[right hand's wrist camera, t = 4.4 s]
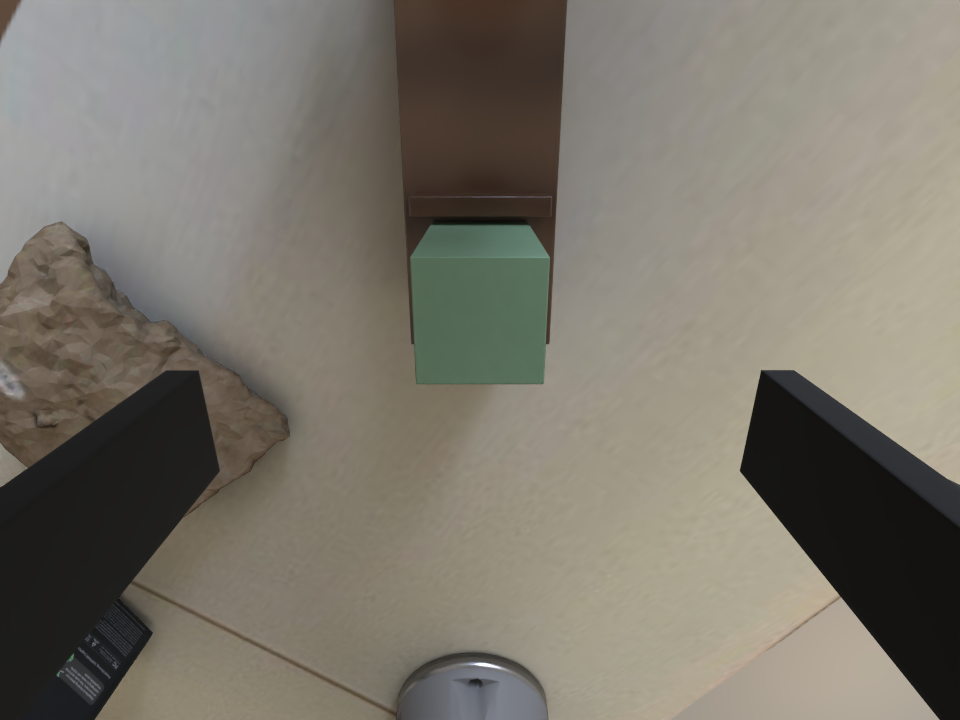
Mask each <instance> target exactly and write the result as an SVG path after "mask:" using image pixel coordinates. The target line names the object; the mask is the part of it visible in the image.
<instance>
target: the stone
mask: <svg viewBox="0 0 960 720" xmlns="http://www.w3.org/2000/svg"><path fill="white" fill-rule="evenodd" d="M166 370H199V374H200V379H201V383H202V388H203V393H204V397H205V402H206V407H207V412H208V416H209V421H210V426H211V430H212V435H213V440H214V445H215V449H216V454H217V459H218V463H219V468H220V472H219V473H218V474H217V475H216V477H215V478H214V479H213V480H212V482H211V483H210V484H209V485H208V487H207V488H206V489H205V490H204V492H203V493H202V494H201V495H200V497H199V498H198V499H197V500H196V502H195V503H194V504H193V505H192V507H191V508H190V509H189V510H188V512H187V513H186V514H185V515H184V517H185V516H186V515H188V514H189V513H191V512H192V511H194V510H195V509H196V508H198V507H199V506H200V505H201V504H202V503H203V502H205V501H206V500H207V499H209V498H211V497H212V496H214V495H215V494H216V493H218V492H219V490H220V489H221V488H223V487H225V486H226V485H228V484H230V483H231V482H233V481H235V480H236V479H238V478H239V477H241V476H243V475H244V474H246V473H248V472H250V471H251V469H252V467H253V465H254V463H255V462H256V461H257V460H258V459H260V458H261V457H262V456H263V455H264V454H265V453H266V451H267V450H269V449H270V448H271V447H272V446H273V445H274V444H275V443H276V442H277V441H283V440H285V439H286V438H288V437H289V436H290V430H289V427H288V422H287V418H286V417H285V416H284V415H282V414H281V412H280V411H279V410H278V409H277V408H276V407H275V406H273V405H272V404H270V403H269V402H267V401H266V400H264V399H263V398H261V397H259V396H257V395H255V394H253V393H252V392H251V391H250V390H249V389H248V387H247V386H246V385H245V384H244V383H243V382H242V380H241V378H240V376H239V374H237V373H235V372H233V371H231V370H229V369H227V368H224V367H223V366H222V365H221V364H219V363H216V362H213V361H212V360H210V359H209V358H208V357H206V356H205V355H204V354H203V353H202V352H201V351H200V350H199V348H198V347H197V345H195V344H194V343H192V342H190V341H188V340H187V339H186V338H185V337H184V336H182V335H181V334H180V333H179V331H178V330H177V328H176V327H175V326H173V325H172V324H171V323H169V322H168V321H165V320H164V321H160V322H156V323H153V322H150V321H149V320H148V318H147V317H146V316H145V315H144V314H143V313H141V312H139V311H137V310H135V309H134V308H133V306H132V304H131V303H130V301H129V299H128V298H127V296H126V295H124V294H123V293H121V292H119V291H117V290H116V289H115V286H114V283H113V282H112V280H111V279H110V277H109V276H108V274H107V273H106V271H104V270H102V269H100V268H99V267H97V266H95V265H94V264H93V261H92V257H91V253H90V247H89V244H88V241H87V239H86V238H85V237H83V236H82V235H80V234H78V233H77V232H75V231H73V230H72V229H71V228H70V227H68V226H67V225H66V224H64V223H63V222H58V223H55V224H52V225H48V226H45V227H43V228H42V229H41V230H40V231H39V232H38V233H37V234H36V235H35V236H33V237H32V238H31V239H30V240H29V241H28V242H27V243H25V245H24V247H23V249H22V250H21V252H19V253H18V254H17V255H16V257H15V258H14V260H13V262H12V264H11V266H10V268H9V270H8V276H7V277H6V278H5V280H4V281H3V282H2V283H1V284H0V443H1V444H2V445H3V447H4V448H5V449H6V450H7V451H8V452H10V453H11V454H12V455H13V456H15V457H16V458H17V459H18V460H19V461H20V462H21V463H23V464H24V465H25V466H26V467H27V468H29V467H30V466H32V465H33V464H35V463H36V462H38V461H39V460H40V459H42V458H43V457H45V456H46V455H47V454H49V453H50V452H52V451H53V450H54V449H56V448H57V447H59V446H60V445H61V444H63V443H64V442H66V441H67V440H69V439H70V438H71V437H73V436H74V435H76V434H77V433H78V432H80V431H81V430H83V429H84V428H85V427H87V426H88V425H90V424H91V423H92V422H94V421H95V420H97V419H98V418H100V417H101V416H102V415H104V414H105V413H107V412H108V411H109V410H111V409H112V408H114V407H115V406H116V405H118V404H119V403H121V402H122V401H123V400H125V399H126V398H128V397H129V396H131V395H132V394H133V393H135V392H136V391H138V390H139V389H140V388H142V387H143V386H145V385H146V384H147V383H149V382H150V381H152V380H153V379H154V378H156V377H157V376H159V375H160V374H162V373H163V372H164V371H166Z"/></svg>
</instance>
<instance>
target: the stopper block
mask: <svg viewBox="0 0 960 720" xmlns="http://www.w3.org/2000/svg"><path fill="white" fill-rule="evenodd" d="M549 267H550V257H549V255H548V254H547V252H546V251H545V249H544V247H543V246H542V244H541V243H540V241H539V239H538V238H537V236H536V235H535V233H534V231H533V230H532V228H531V227H530V225H529V224H528V222H527V221H433V222H432V224H431V225H430V227H429V228H428V230H427V231H426V233H425V235H424V236H423V238H422V239H421V241H420V243H419V244H418V246H417V247H416V249H415V250H414V252H413V254H412V255H411V257H410V268H411V289H412V309H413V330H414V350H415V371H416V383H417V384H543V383H544V369H545V349H546V328H547V308H548V287H549Z"/></svg>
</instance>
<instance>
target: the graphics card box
mask: <svg viewBox="0 0 960 720" xmlns="http://www.w3.org/2000/svg"><path fill="white" fill-rule="evenodd" d="M152 633H153V632H152V631H151V630H150V629H149V628H148V627H147V626H145V625H144V624H143V623H142V622H141V620H139V619H138V618H137V617H136V616H135V615H134V614H133V612H131V611H130V610H129V609H128V608H127V607H126V606H125V605H124V604H123V603H122V602H121V601H120V600H119V599H117V600H116V601H115V602H114V604H113V605H112V606H111V607H110V609H109V610H108V611H107V612H106V614H105V615H104V616H103V617H102V619H101V620H100V621H99V622H98V624H97V625H96V626H95V627H94V629H93V630H92V631H91V632H90V634H89V635H88V636H87V637H86V639H85V640H84V641H83V642H82V644H81V645H80V646H79V647H78V649H77V650H76V651H75V652H74V653H73V655H72V656H71V657H70V658H69V660H68V661H67V662H66V663H65V665H64V666H63V667H62V668H61V670H60V671H59V672H58V673H57V675H56V676H55V677H54V678H53V680H52V681H51V682H50V683H49V685H48V686H47V687H46V688H45V690H44V691H43V692H42V693H41V695H40V696H39V697H38V698H37V700H36V701H35V702H34V703H33V705H32V706H31V707H30V708H29V709H28V711H27V712H26V713H25V714H24V716H23V717H22V718H21V719H20V720H94V719H95V718H96V717H97V715H98V714H99V712H100V711H101V710H102V708H103V706H104V705H105V704H106V702H107V701H108V699H109V698H110V696H111V695H112V693H113V692H114V690H115V689H116V687H117V686H118V684H119V683H120V681H121V680H122V678H123V677H124V676H125V674H126V673H127V671H128V670H129V668H130V666H131V665H132V664H133V662H134V660H135V659H136V658H137V656H138V655H139V654H140V652H141V650H142V649H143V648H144V646H145V645H146V643H147V642H148V640H149V639H150V637H151V635H152Z"/></svg>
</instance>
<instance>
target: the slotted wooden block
mask: <svg viewBox="0 0 960 720" xmlns="http://www.w3.org/2000/svg"><path fill="white" fill-rule="evenodd" d="M566 10H567V0H394V13H395V32H396V52H397V72H398V91H399V111H400V130H401V150H402V170H403V189H404V209H405V228H406V248H407V268H408V287H409V307H410V326H411V343H412V344H414V330H413V309H412V289H411V268H410V257H411V255H412V254H413V252H414V250H415V249H416V247H417V246H418V244H419V243H420V241H421V239H422V238H423V236H424V235H425V233H426V231H427V230H428V228H429V227H430V225H431V224H432V222H433V221H527V222H528V224H529V225H530V227H531V228H532V230H533V231H534V233H535V235H536V236H537V238H538V239H539V241H540V243H541V244H542V246H543V247H544V249H545V251H546V252H547V254H548V255H549V257H550V267H549V287H548V308H547V328H546V344H549V340H550V320H551V301H552V282H553V262H554V243H555V223H556V204H557V185H558V165H559V146H560V126H561V107H562V87H563V68H564V49H565V29H566Z"/></svg>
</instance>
